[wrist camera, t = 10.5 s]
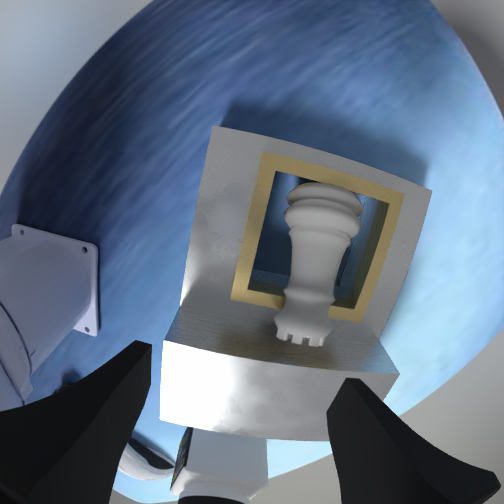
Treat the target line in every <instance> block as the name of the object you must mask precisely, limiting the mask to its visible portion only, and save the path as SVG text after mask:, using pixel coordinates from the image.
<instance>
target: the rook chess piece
mask: <svg viewBox="0 0 504 504" xmlns="http://www.w3.org/2000/svg"><path fill="white" fill-rule="evenodd" d="M286 200H287V202H288V204H289V205H290V207H288V208H287V210H286V211H285V212H284V216H285V221H286V223H287V224H288V226H289V228H290V229H291V230H290V231H289V233H288V234H289V235H290V237H291V241H292V260H291V273H290V278H289V283H288V286H287V287H286V288H285V289H284V290H283V291H284V293H285V295H286V302H285V305H284V307H283V308H282V309H281V310H280V311H279V312H278V313H277V314H276V315H275V316H274V317H273V319H274V321H275V323H276V325H277V327H278V331H277V335H276V337H278V338H279V339H281V340H287V339H288V338H292V337H293V338H292V342H291V343H296V344H302V340H305V341H306V340H307V338H310V339H309V343H308V345H310V346H316V347H318V346H323V343H324V339H325V337H326V336H327V335H328V334H329V333H330V332H331V331H332V330H334V328H333V326H332V323H331V321H330V318H329V316H328V314H329V308H330V305H331V304H332V303H333V302H334V301H335V298H334V296H333V290H334V284H335V279H336V276H337V273H338V270H339V266H340V263H341V260H342V257H343V255H344V252H345V250H346V248H347V247H348V246H350V243H351V242H350V240H351V239H352V238H353V237H354V236H356V235H357V234H358V231H359V229H360V225H361V222H360V221H359V219H358V218H357V217H358V216H359V215H361V214H363V209H364V207H363V206H362V204H361V202H360V200H359V199H358V198H357V196H356V195H355V194H354V193H353V192H351V191H349V190H347V189H346V188H343V187H340V186H337V185H333V184H328V183H319V182H313V183H304V184H301V185H299V186H296V187H295V188H294V189H293V190H292V191H290V192H289V194H288V195H287V197H286Z"/></svg>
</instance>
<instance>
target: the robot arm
mask: <svg viewBox="0 0 504 504" xmlns="http://www.w3.org/2000/svg"><path fill="white" fill-rule="evenodd" d="M23 231H24V233H23ZM84 247H86V248H87V252H86V251H85V248H84ZM97 267H98V249H97V247H96V246H95V245H94V244H92V243H88V242H84V241H80V240H76V239H72V238H68V237H65V236H61V235H57V234H53V233H49V232H46V231H42V230H38V229H35V228H31V227H27V226H24V225H20V224H14V225H13V226H12V236H11V237H9V238H6V239H4V240H2V241H0V504H109V500H110V496H111V491H112V488H113V484H114V480H115V476H116V473H117V469H118V466H119V463H120V459H121V457H122V454H123V451H124V449H125V447H126V445H127V442H128V440H129V438H130V436H131V434H132V431H133V429H134V427H135V425H136V423H137V420H138V418H139V416H140V414H141V412H142V409H143V407H144V404H145V401H146V398H147V395H148V392H149V388H150V385H151V355H152V344H148V343H144V342H141V341H137V340H135V341H134V342H132V343H131V344H130V345H128V346H127V347H126V348H125V349H123V350H122V351H121V352H120V353H118V354H117V355H116V356H114V357H113V358H112V359H110V360H109V361H108V362H106V363H105V364H104V365H102V366H101V367H99V368H98V369H97V370H95V371H94V372H92V373H90V374H89V375H87V376H86V377H84V378H83V379H81V380H79V381H78V382H76V383H74V384H73V385H71V386H69V387H67V388H65V389H63V390H61V391H59V392H57V393H55V394H53V395H51V396H48V397H46V398H43V399H41V400H38V401H35V402H33V403H30V404H27V403H26V401H25V399H26V398H27V397H28V395H29V394H30V393H31V391H32V390H33V388H32V386H31V384H30V380H29V378H30V377H31V375H32V374H33V373H34V372H35V371H36V369H37V368H38V367H39V366H40V365H41V364H42V362H43V361H44V360H45V359H46V358H47V357H48V355H49V354H50V353H51V352H52V351H53V350H54V349H55V348H56V346H57V345H58V344H59V343H60V342H61V341H62V340H63V339H64V338H65V337H66V335H67V334H68V333H69V332H70V331H71V330H72V329H75V330H78V331H81V332H83V333H86V334H89V335H92V336H97V334H98V333H99V323H98V296H97ZM87 327H88V328H89V329H88V328H87ZM326 415H327V427H328V435H329V440H330V444H331V448H332V452H333V456H334V461H335V465H336V469H337V473H338V477H339V483H340V490H341V502H342V504H483V503H484V502H485V501H487V500H488V499H489V498H490V497H492V496H493V495H494V494H495V493H496V492H497V491H498V490H499V489H500V487H501V484H500V482H499V481H498V479H497V477H496V475H495V474H494V473H493V472H491V471H488V470H484V469H481V468H478V467H475V466H472V465H470V464H467V463H465V462H462V461H460V460H458V459H456V458H454V457H452V456H450V455H448V454H447V453H445V452H443V451H441V450H440V449H438V448H436V447H435V446H433V445H432V444H430V443H429V442H427V441H426V440H425V439H423V438H422V437H421V436H420V435H418V434H417V433H416V432H414V431H413V430H412V429H411V428H410V427H409V426H408V425H407V424H405V423H404V422H403V421H402V420H401V419H400V418H399V417H398V416H397V415H396V414H395V413H394V412H393V411H392V410H391V409H390V408H389V407H388V406H387V405H386V404H385V403H384V402H383V401H382V400H381V399H380V398H379V397H378V396H377V395H376V394H375V393H374V392H373V391H372V390H371V389H370V388H369V387H368V386H367V385H366V384H365V383H364V382H363V381H362V380H361V379H360V378H345V380H344V382H343V384H342V385H341V387H340V389H339V391H338V393H337V394H336V396H335V398H334V400H333V401H332V403H331V405H330V407H329V408H328V410H327V412H326Z"/></svg>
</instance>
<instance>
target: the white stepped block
mask: <svg viewBox="0 0 504 504" xmlns="http://www.w3.org/2000/svg"><path fill="white" fill-rule="evenodd" d="M275 171H279V172H284V173H288V174H292V175H295V176H299V177H303V178H307V179H311V180H314V181H318V182H322V183H328V184H333V185H337V186H340V187H343V188H346V189H347V190H349V191H353V192H356V193H359V194H362V195H365V196H366V200H365V203H364V209H363V214H361V218H360V222H361V225H360V229H359V231H358V234H357V235H356V236H355V238H354V241H353V245H352V248H351V251H350V254H349V257H348V260H347V263H346V266H345V269H344V272H343V275H342V278H341V281H340V284H339V286H337V285H334V290H333V296H334V298H335V301H334V302H333V303H332V304H331V305H330V308H329V314H328V316H329V318H330V321H331V323H332V326H333V328H334V330H332V331H331V332H330V333H329V334H328V335H327V336H326V337H325V339H324V343H323V346H318V347H316V346H310V345H308V343H309V339H310V338H307V340H306V341H305V340H302V344H296V343H291V342H292V338H293V337H292V338H288V339H287V340H281V339H279V338H278V337H276V335H277V331H278V327H277V325H276V323H275V321H274V319H273V317H274V316H275V315H276V314H277V313H278V312H279V311H280V310H281V309H282V308H283V307H284V305H285V302H286V295H285V293H284V291H283V290H284V289H285V288H286V287H287V286H288V283H289V278H290V276H287V275H283V274H278V273H273V272H268V271H263V270H259V269H254V268H252V267H253V263H254V259H255V255H256V251H257V246H258V242H259V238H260V234H261V230H262V226H263V222H264V217H265V213H266V209H267V205H268V201H269V196H270V192H271V188H272V184H273V180H274V175H275ZM431 194H432V190H429V189H427V188H425V187H422V186H420V185H418V184H415V183H413V182H410V181H408V180H405V179H403V178H400V177H398V176H395V175H393V174H390V173H387V172H385V171H382V170H379V169H376V168H374V167H371V166H368V165H365V164H362V163H359V162H356V161H353V160H350V159H347V158H344V157H341V156H338V155H334V154H331V153H328V152H324V151H321V150H318V149H314V148H311V147H307V146H303V145H300V144H296V143H292V142H288V141H284V140H280V139H276V138H272V137H268V136H263V135H259V134H254V133H250V132H245V131H240V130H235V129H230V128H224V127H219V126H213V128H212V133H211V137H210V141H209V146H208V150H207V155H206V159H205V164H204V169H203V174H202V178H201V183H200V188H199V194H198V199H197V204H196V209H195V215H194V220H193V226H192V232H191V238H190V244H189V250H188V256H187V262H186V269H185V276H184V283H183V290H182V297H181V305H180V307H179V309H178V311H177V314H176V316H175V318H174V320H173V322H172V324H171V326H170V329H169V331H168V333H167V335H166V337H165V339H164V347H163V362H162V380H161V408H160V419H161V420H165V421H169V422H173V423H177V424H181V425H185V426H190V427H195V428H200V429H205V430H210V431H215V432H221V433H227V434H234V435H241V436H249V437H258V438H268V439H280V440H296V441H330V440H329V435H328V427H327V415H326V412H327V410H328V408H329V407H330V405H331V403H332V401H333V400H334V398H335V396H336V394H337V393H338V391H339V389H340V387H341V385H342V384H343V382H344V380H345V378H360V379H361V380H362V381H363V382H364V383H365V384H366V385H367V386H368V387H369V388H370V389H371V390H372V391H373V392H374V393H375V394H376V395H377V396H378V397H379V398H380V399H381V400H382V401H383V400H384V398H385V397H386V395H387V394H388V392H389V391H390V389H391V388H392V386H393V384H394V383H395V381H396V380H397V378H398V376H399V375H400V373H399V371H398V370H397V368H396V366H395V365H394V363H393V362H392V360H391V358H390V357H389V355H388V354H387V352H386V350H385V349H384V347H383V346H382V344H381V343H380V341H379V338H380V336H381V333H382V331H383V329H384V327H385V325H386V323H387V320H388V318H389V316H390V314H391V311H392V309H393V307H394V304H395V302H396V300H397V297H398V295H399V292H400V290H401V287H402V285H403V282H404V280H405V277H406V274H407V272H408V269H409V266H410V263H411V260H412V258H413V255H414V252H415V249H416V246H417V243H418V240H419V236H420V233H421V230H422V227H423V223H424V220H425V216H426V213H427V209H428V205H429V202H430V198H431Z"/></svg>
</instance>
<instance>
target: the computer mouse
mask: <svg viewBox="0 0 504 504" xmlns="http://www.w3.org/2000/svg"><path fill="white" fill-rule="evenodd" d="M69 386H71V385H70V384H69V383H67V382H65V383H64V384H63V388H62V390H63V389H65V388H67V387H69ZM59 391H60V390H57V392H59ZM118 469H119V470H120V471H122V472H123V473H125V474H127V475H129V476H131V477H133V478H136V479H139V480H147V481H150V480H159V479H163V478H166V477H168V476H171V475H173V474H174V469H175V463H174V462H172V461H171V460H170V459H169V458H167V457H166V456H164V455H163V454H161V453H159V452H157V451H155V450H153V449H151V448H149V447H147V446H145V445H143V444H141V443H139V442H138V441H136V440H134V439H133V438H131V437H130V438H129V440H128V442H127V445H126V447H125V449H124V451H123V454H122V457H121V459H120V463H119V466H118Z"/></svg>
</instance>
